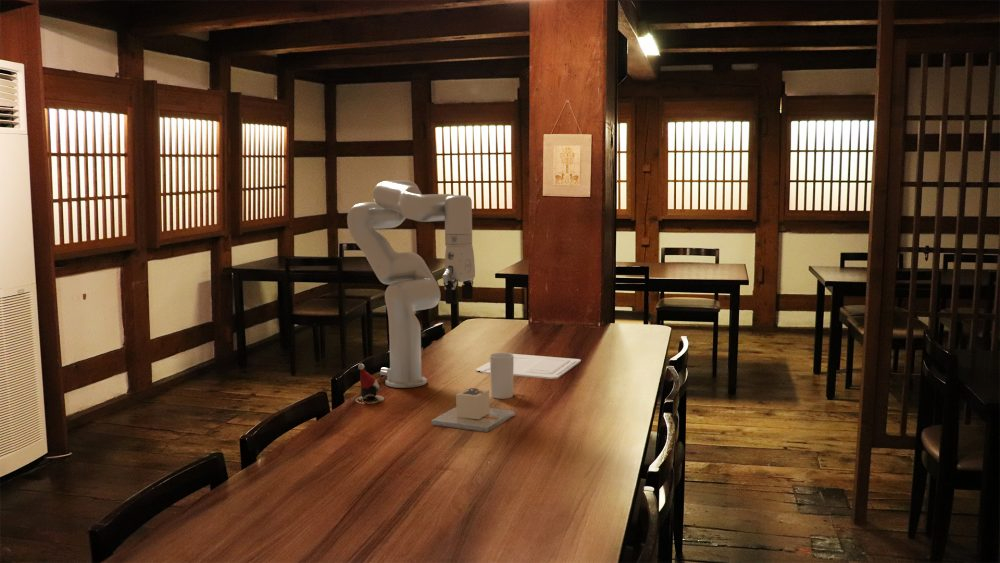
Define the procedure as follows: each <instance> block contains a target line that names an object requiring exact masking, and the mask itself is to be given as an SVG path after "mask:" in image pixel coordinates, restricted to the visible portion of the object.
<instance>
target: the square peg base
mask: <svg viewBox="0 0 1000 563" xmlns="http://www.w3.org/2000/svg"><path fill="white" fill-rule="evenodd" d="M468 389H469V394H470V395H477V394H479V390H480V389H478V388H476V387H471V388H468ZM513 416H515V410H510V409H501V408H493V407H490V413H489V414H487V415H485V416H484V417H482V418H480V419H470V418H460V417H457V409H456V406H455V407H453V408H451V409H449V410H447V411H445V412H444V413H441V415H438V416H436V417H435V418H433V419H431V425H432V426H439V427H447V428H455V429H459V430H460V429H461V430H468V431H474V432H483V433H489V432H491V431H493V429H495V428H497V427H498V426H500V425H501V424H503V423H504V422H506V421H507V420H509V419H510V418H512V417H513Z"/></svg>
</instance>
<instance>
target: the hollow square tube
mask: <svg viewBox="0 0 1000 563" xmlns="http://www.w3.org/2000/svg"><path fill="white" fill-rule="evenodd" d="M469 389H470V388H466V389H464V390H462V391H460V392H458V393H456V394H455V402H456V404H455V407H456V409H457V417H460V418H470V419H480V418H482V417H484V416H485V415H487V414H489V413H490V408H491V406H490V390H488V389H487V390H486V389H479V394H477V395H470V394H469Z"/></svg>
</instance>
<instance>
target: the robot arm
mask: <svg viewBox="0 0 1000 563" xmlns="http://www.w3.org/2000/svg"><path fill="white" fill-rule="evenodd" d="M372 199H373V201H366V202H360V203H357V204H355V205H353V206H351V208H349V210H348V212H347V216H346V220H347V221H346V222H347V228H348V231H349V234H350V236H351V238H352V239H353V241H354V242H355V244H356V246H358V248H359V249H360V251H362V253H363V255H364V256H365V258H366V260H367V261H368V264H369V265H370V267H371V269H372V271H373V273H374V274H375V276H376V277H377V279H378V280H379V282H380V283H382V284H384V285H388V286H387V287H386V289H385V292H384V302H385V306H386V311H387V317H388V319H387V320H388V334H389V336H388V338H389V339H388V340H389V368H388V367H381V368H380V370H379V371H380V372H379V374H380V375H382V376H386V379H385V382H384V384H385V385H386V386H388V387H390V388H396V389H410V388H418V387H421V386H424V385H426V384H427V383H428V380H427V379H428V378H427V377H426V376H422V337H421V336H422V335H421V331H422V330H421V324H420V321H419V319H418V317H417V316H416V315H415V312H417V311H423V310H428V309H433V308H435V307H437V305H438V304H439V303H440V301H441V297H442V296H441V290H440V286H439V284H438V282H437V280H436V279H435V277H434V275H433V273H432V272H431V270H430V268H429V267H428V266H427V264H426V261H425V260H424V259H423V257H422V256H420V255H419V254H418V253H416V252H413V251H406V252H397V251H396V250H395V249H394V248H393V247H392V245H391V243H390V241H389V240H388V239H387V238H386V237H385V236H384V235H383V234H381V233H379V232H378V231H377V230H381V229H394V228H397V227H398V226H400V225H401V224H402V223H403V222H404V221H405V220H406V219H408V220H411V221H412V220H413V221H416V222H419V223H420V222H421V223H422V222H423V223H424V222H425V223H427V222H444V245H445V253H444V254H445V255H444V272H443V274H442V276H441V277H442V280H443V282H442V283H443V286H444V290H445V304H446V305H456V304H458V299H457V298H458V292H457V291H458V290H457V289H456V288H457V285H458V283H462V284H461V299H464V300H473V299H474V290H473V289H474V288H473V285H474V279H475V276H476V268H475V266H476V265H475V255H474V246H473V203H472V198H471V197H470V196H469V195H466V194H465V195H464V194H463V195H462V194H461V195H459V194H458V195H455V194H453V193H452V194H450V193H437V194H436V193H434V194H433V193H431V194H429V193H428V194H422V192H421V189H419V186H418V185H417V184H416V183H415V182H414V181H411V180H409V179H408V180H383V181H381V182H378V183H376V185H375V187H374V188H373V191H372Z"/></svg>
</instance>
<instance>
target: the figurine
mask: <svg viewBox="0 0 1000 563" xmlns="http://www.w3.org/2000/svg"><path fill="white" fill-rule="evenodd" d="M357 367H358V368H357V369H358V370H360V373H359V382H360V387H361V388H360V392H361V396H358V397H356V398H355V399H354V401H355V402H356V403H358V404H362V405H363V404H365V403H364V402H362V403H361V402H359V401H358V399H359V400H361V399H362V401H366V402H367V405H368V404H369V405H370V404H376V403H379V402H380V403H381V402H383V401H384V400H385V397H384V396H381V395H377V394H378V393H379V392H380V389H381V388H380V385H379V382H378V380H377V378H376V376H373V375H371V374H370V373H369V372H367V371H366V369H365V364H363V363H359V364H358V366H357ZM366 397H368V398H366ZM370 398H371V399H370ZM373 398H374V399H373Z"/></svg>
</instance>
